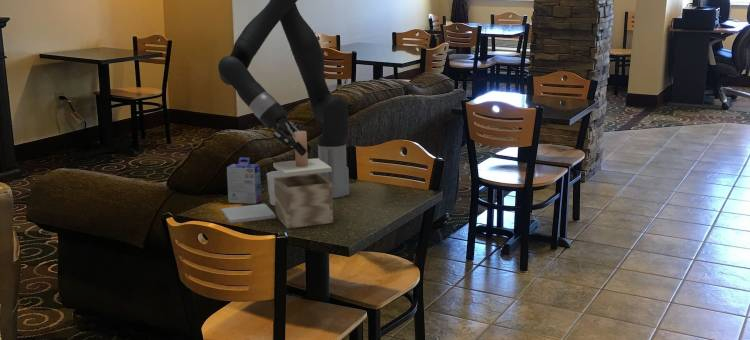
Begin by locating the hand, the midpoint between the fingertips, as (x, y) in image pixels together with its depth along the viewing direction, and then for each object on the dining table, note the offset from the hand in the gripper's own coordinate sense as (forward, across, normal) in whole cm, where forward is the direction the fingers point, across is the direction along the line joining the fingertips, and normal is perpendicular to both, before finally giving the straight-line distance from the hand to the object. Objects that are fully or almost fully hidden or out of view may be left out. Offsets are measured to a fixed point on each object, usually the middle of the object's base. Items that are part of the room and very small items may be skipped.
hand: (307, 152), depth 239 cm
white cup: (+3, +14, +27) cm, 31 cm away
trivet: (0, 0, +29) cm, 29 cm away
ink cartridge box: (-6, +13, +36) cm, 38 cm away
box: (+13, 0, +16) cm, 21 cm away
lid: (+2, 0, +5) cm, 6 cm away
